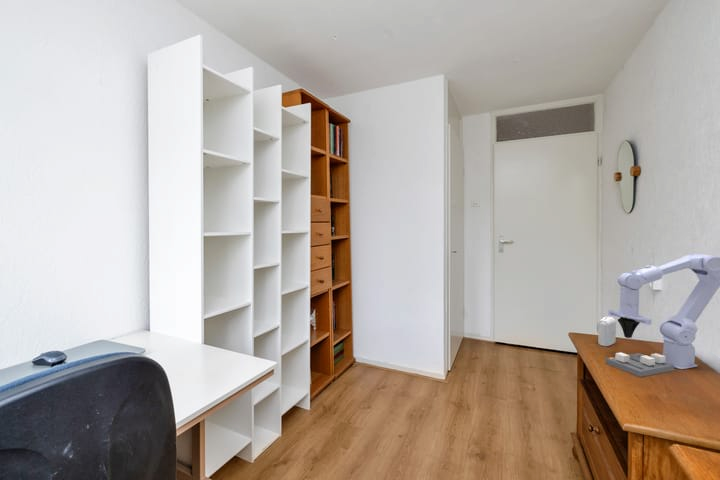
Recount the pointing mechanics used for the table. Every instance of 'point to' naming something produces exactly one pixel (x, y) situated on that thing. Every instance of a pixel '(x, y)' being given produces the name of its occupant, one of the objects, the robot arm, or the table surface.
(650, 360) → the switch middle
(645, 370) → the switch panel
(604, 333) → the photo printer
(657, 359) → the switch
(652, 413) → the table surface
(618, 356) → the switch
